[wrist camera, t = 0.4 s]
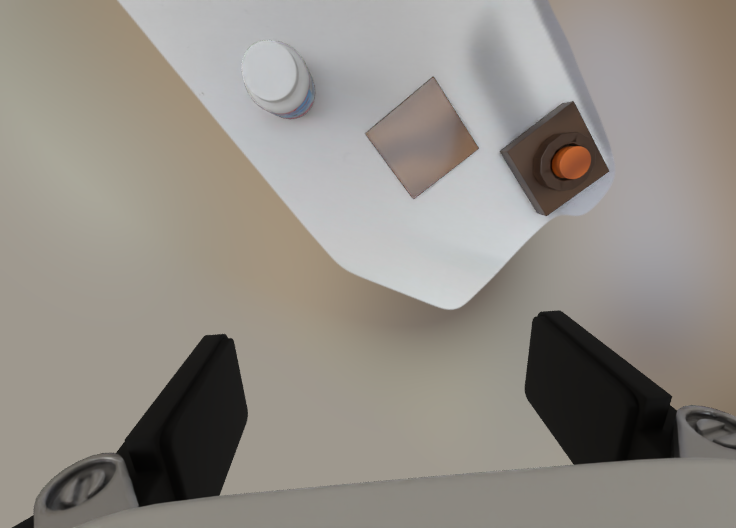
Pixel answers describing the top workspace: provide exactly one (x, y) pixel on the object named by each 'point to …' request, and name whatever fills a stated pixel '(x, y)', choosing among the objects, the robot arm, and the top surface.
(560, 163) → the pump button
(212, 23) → the top surface
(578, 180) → the button housing
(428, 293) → the top surface
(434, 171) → the coaster
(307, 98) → the pill bottle
